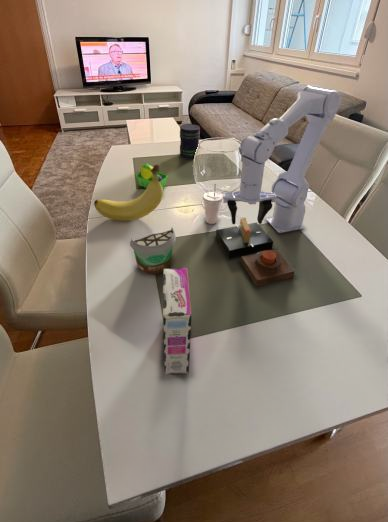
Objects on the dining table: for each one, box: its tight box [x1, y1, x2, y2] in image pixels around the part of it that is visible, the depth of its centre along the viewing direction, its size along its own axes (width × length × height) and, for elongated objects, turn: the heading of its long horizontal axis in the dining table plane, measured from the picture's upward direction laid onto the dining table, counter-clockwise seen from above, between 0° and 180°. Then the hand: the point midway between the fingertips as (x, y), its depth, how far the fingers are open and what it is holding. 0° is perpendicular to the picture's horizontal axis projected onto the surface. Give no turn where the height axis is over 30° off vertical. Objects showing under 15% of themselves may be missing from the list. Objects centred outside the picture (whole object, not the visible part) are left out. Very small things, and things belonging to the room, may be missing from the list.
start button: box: [261, 250, 276, 264], centre depth 79 cm, size 4×4×2 cm
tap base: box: [215, 222, 274, 259], centre depth 90 cm, size 14×11×3 cm
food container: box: [129, 227, 177, 275], centre depth 78 cm, size 12×6×10 cm, turn 117°
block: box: [240, 249, 296, 287], centre depth 80 cm, size 11×9×4 cm
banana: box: [93, 164, 164, 221], centre depth 96 cm, size 23×6×20 cm, turn 92°
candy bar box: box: [162, 267, 192, 375], centre depth 57 cm, size 11×5×16 cm, turn 5°
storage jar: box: [179, 123, 201, 160], centre depth 148 cm, size 10×10×15 cm
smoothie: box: [202, 183, 223, 225], centre depth 98 cm, size 6×6×14 cm
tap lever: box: [239, 217, 251, 243], centre depth 88 cm, size 7×2×4 cm, turn 3°
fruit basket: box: [135, 163, 169, 189], centre depth 118 cm, size 11×9×11 cm
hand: (246, 222), depth 87 cm, fingers open, 7 cm apart
